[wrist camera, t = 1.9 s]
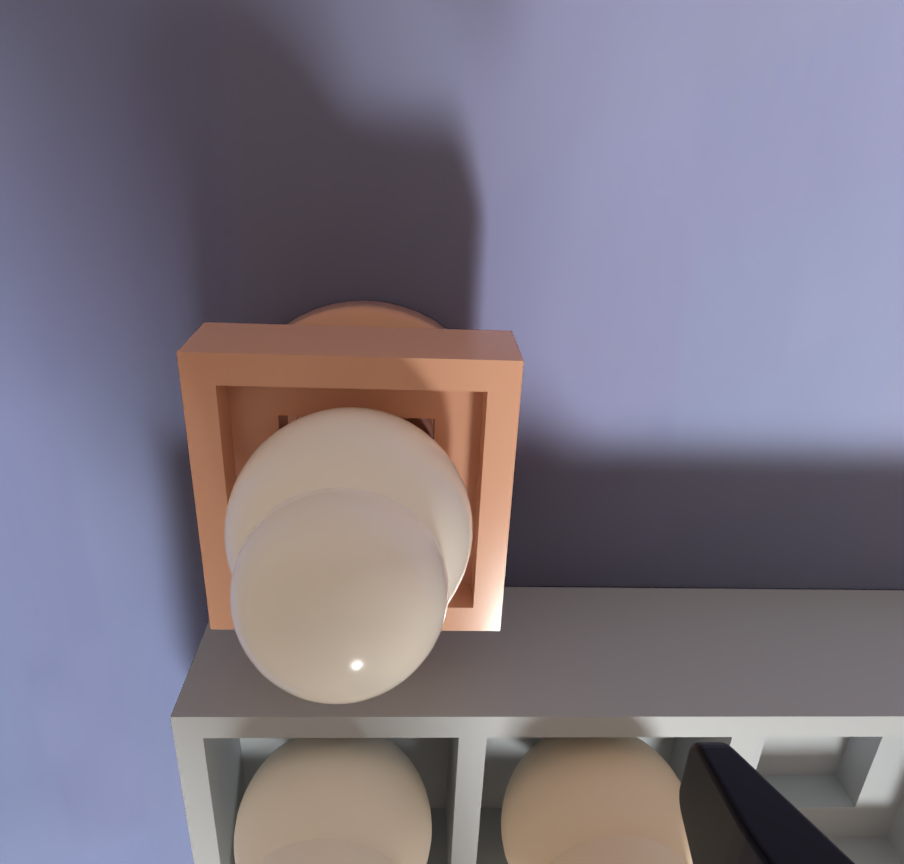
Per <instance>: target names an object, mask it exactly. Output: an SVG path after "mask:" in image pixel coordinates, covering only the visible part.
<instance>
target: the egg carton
mask: <svg viewBox="0 0 904 864" xmlns="http://www.w3.org/2000/svg"><path fill="white" fill-rule="evenodd" d="M170 718H171V724H172V730H173V736H174V742H175V749H176V755H177V761H178V767H179V773H180V779H181V786H182V792H183V798H184V804H185V810H186V816H187V823H188V829H189V835H190V841H191V847H192V854H193V860H194V864H693V862H692V858H691V854H690V849H689V845H688V841H687V836H686V832H685V828H684V823H683V819H682V815H681V810H680V803H679V790H680V785H681V781H682V776H683V772H684V768H685V764H686V760H687V756H688V752H689V749H690V747H691V746H692V745H693V744H694V743H697V742H722V743H726V744H728V745H729V746H731V747H732V748H733V749H734V750H735V751H736V752H737V753H739V754H740V755H741V756H742V757H743V758H744V759H745V760H746V761H747V762H748V763H749V764H750V765H751V766H752V767H753V768H754V769H755V770H757V771H758V772H759V773H760V774H761V775H762V776H763V777H764V778H765V779H766V780H767V781H768V782H769V783H770V784H771V785H772V786H774V787H775V788H776V789H777V790H778V791H779V792H780V793H781V794H782V795H783V796H784V797H785V798H786V799H787V800H788V801H789V802H791V803H792V804H793V805H794V806H795V807H796V808H797V809H798V810H799V811H800V812H801V813H802V814H803V815H804V816H805V817H806V818H807V819H809V820H810V821H811V822H812V823H813V824H814V825H815V826H816V827H817V828H818V829H819V830H820V831H821V832H822V833H823V834H824V835H826V836H827V837H828V838H829V839H830V840H831V841H832V842H833V843H834V844H835V845H836V846H837V847H838V848H839V849H840V850H841V851H843V852H844V853H845V854H846V855H847V856H848V857H849V858H850V859H851V860H852V861H853V862H854V863H855V864H904V590H808V589H696V588H584V587H504V592H503V604H502V615H501V627H500V631H441V632H440V634H439V636H438V638H437V641H436V643H435V645H434V647H433V648H432V650H431V651H430V653H429V654H428V656H427V657H426V659H425V660H424V661H423V662H422V664H421V665H420V666H419V667H418V668H417V669H416V670H415V671H414V672H413V673H412V674H411V675H410V676H409V677H408V678H406V679H405V680H404V681H403V682H401V683H400V684H398V685H397V686H395V687H394V688H392V689H391V690H389V691H387V692H385V693H383V694H381V695H378V696H375V697H373V698H370V699H367V700H363V701H359V702H354V703H348V704H324V703H317V702H312V701H308V700H304V699H302V698H299V697H296V696H294V695H292V694H290V693H288V692H286V691H284V690H282V689H281V688H279V687H278V686H276V685H274V684H273V683H272V682H270V681H269V680H268V679H267V678H265V677H264V676H263V675H262V674H261V673H260V672H259V671H258V670H257V668H256V667H255V666H254V665H253V663H252V662H251V661H250V659H249V658H248V656H247V655H246V653H245V652H244V650H243V648H242V646H241V644H240V642H239V639H238V637H237V634H236V631H235V630H222V629H210V621H209V622H208V624H207V627H206V629H205V632H204V634H203V637H202V639H201V642H200V644H199V647H198V649H197V652H196V654H195V657H194V659H193V662H192V664H191V667H190V669H189V672H188V674H187V677H186V679H185V682H184V684H183V687H182V689H181V692H180V694H179V697H178V699H177V702H176V704H175V707H174V709H173V712H172V714H171V717H170Z"/></svg>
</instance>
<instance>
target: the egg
mask: <svg viewBox="0 0 904 864" xmlns="http://www.w3.org/2000/svg"><path fill="white" fill-rule="evenodd" d="M224 544H225V550H226V556H227V561H228V566H229V570H230V572H231V575H232V578H231V585H230V608H231V614H232V620H233V625H234V629H235V631H236V634H237V637H238V639H239V642H240V644H241V646H242V648H243V650H244V652H245V653H246V655H247V656H248V658H249V659H250V661H251V662H252V663H253V665H254V666H255V667H256V668H257V670H258V671H259V672H260V673H261V674H262V675H263V676H264V677H265V678H267V679H268V680H269V681H270V682H272V683H273V684H274V685H276V686H278V687H279V688H281V689H282V690H284V691H286V692H288V693H290V694H292V695H294V696H296V697H299V698H302V699H304V700H308V701H312V702H317V703H324V704H348V703H354V702H359V701H363V700H367V699H370V698H373V697H375V696H378V695H381V694H383V693H385V692H387V691H389V690H391V689H392V688H394V687H395V686H397V685H398V684H400V683H401V682H403V681H404V680H405V679H406V678H408V677H409V676H410V675H411V674H412V673H413V672H414V671H415V670H416V669H417V668H418V667H419V666H420V665H421V664H422V662H423V661H424V660H425V659H426V657H427V656H428V654H429V653H430V651H431V650H432V648H433V647H434V645H435V643H436V641H437V638H438V636H439V634H440V632H441V630H442V627H443V623H444V620H445V616H446V612H447V606H448V603H449V602H450V600H451V599H452V597H453V596H454V594H455V592H456V590H457V588H458V586H459V584H460V582H461V580H462V578H463V576H464V574H465V571H466V567H467V564H468V561H469V556H470V552H471V545H472V512H471V507H470V501H469V498H468V494H467V491H466V488H465V485H464V482H463V480H462V478H461V476H460V474H459V472H458V470H457V468H456V467H455V465H454V463H453V462H452V460H451V459H450V457H449V456H448V455H447V453H446V452H445V451H444V450H443V449H442V447H441V446H440V445H439V444H438V443H437V442H436V441H435V440H434V439H432V438H431V437H430V436H429V435H428V434H426V433H425V432H424V431H423V430H421V429H420V428H418V427H417V426H415V425H414V424H412V423H410V422H409V421H406V420H404V419H402V418H400V417H398V416H396V415H393V414H390V413H387V412H384V411H379V410H374V409H370V408H359V407H340V408H333V409H327V410H322V411H319V412H315V413H312V414H309V415H306V416H304V417H301V418H299V419H297V420H295V421H292V422H290V423H289V424H287V425H286V426H284V427H282V428H281V429H279V430H278V431H276V432H275V433H274V434H273V435H272V436H270V437H269V438H268V439H267V440H266V441H264V442H263V443H262V444H261V445H260V446H259V447H258V449H257V450H256V451H255V452H254V453H253V454H252V455H251V457H250V458H249V460H248V461H247V463H246V464H245V466H244V467H243V469H242V470H241V472H240V473H239V475H238V478H237V480H236V482H235V484H234V486H233V489H232V492H231V495H230V498H229V502H228V505H227V509H226V517H225V526H224Z"/></svg>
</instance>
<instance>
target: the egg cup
mask: <svg viewBox="0 0 904 864" xmlns="http://www.w3.org/2000/svg"><path fill="white" fill-rule="evenodd" d="M177 360H178V368H179V376H180V384H181V392H182V400H183V409H184V417H185V425H186V433H187V441H188V449H189V457H190V466H191V474H192V482H193V490H194V498H195V506H196V515H197V523H198V531H199V539H200V547H201V555H202V564H203V572H204V580H205V588H206V596H207V604H208V613H209V621H210V629H222V630H235V629H234V625H233V620H232V614H231V608H230V585H231V578H232V575H231V572H230V570H229V566H228V561H227V556H226V550H225V544H224V526H225V517H226V509H227V505H228V502H229V498H230V495H231V492H232V489H233V486H234V484H235V482H236V480H237V478H238V475H239V473H240V472H241V470H242V469H243V467H244V466H245V464H246V463H247V461H248V460H249V458H250V457H251V455H252V454H253V453H254V452H255V451H256V450H257V449H258V447H259V446H260V445H261V444H262V443H263V442H264V441H266V440H267V439H268V438H269V437H270V436H272V435H273V434H274V433H275V432H276V431H278V430H279V429H281V428H282V427H284V426H286V425H287V424H289V423H290V422H292V421H295V420H297V419H299V418H301V417H304V416H306V415H309V414H312V413H315V412H319V411H322V410H327V409H333V408H340V407H359V408H370V409H374V410H379V411H384V412H387V413H390V414H393V415H396V416H398V417H400V418H402V419H404V420H406V421H409V422H410V423H412V424H414V425H415V426H417V427H418V428H420V429H421V430H423V431H424V432H425V433H426V434H428V435H429V436H430V437H431V438H432V439H434V440H435V441H436V442H437V443H438V444H439V445H440V446H441V447H442V449H443V450H444V451H445V452H446V453H447V455H448V456H449V457H450V459H451V460H452V462H453V463H454V465H455V467H456V468H457V470H458V472H459V474H460V476H461V478H462V480H463V482H464V485H465V488H466V491H467V494H468V498H469V501H470V507H471V512H472V545H471V552H470V556H469V561H468V564H467V567H466V571H465V574H464V576H463V578H462V580H461V582H460V584H459V586H458V588H457V590H456V592H455V594H454V596H453V597H452V599H451V600H450V602H449V603H448V606H447V612H446V616H445V620H444V623H443V627H442V630H441V631H500V627H501V615H502V604H503V592H504V581H505V570H506V558H507V547H508V535H509V524H510V512H511V501H512V489H513V478H514V466H515V455H516V443H517V432H518V421H519V409H520V398H521V386H522V375H523V363H524V360H523V358H522V355H521V353H520V350H519V348H518V345H517V343H516V340H515V338H514V335H513V332H512V331H498V330H462V329H446V328H445V327H443V326H442V325H440V324H439V323H437V322H436V321H434V320H433V319H431V318H429V317H427V316H425V315H423V314H421V313H419V312H417V311H414V310H411V309H409V308H406V307H403V306H399V305H395V304H390V303H386V302H378V301H367V300H366V301H346V302H340V303H334V304H330V305H326V306H323V307H320V308H316V309H314V310H311V311H309V312H307V313H305V314H303V315H301V316H299V317H297V318H295V319H294V320H292V321H291V322H289V323H287V324H286V325H285V324H250V323H215V322H204V323H203V324H202V325H201V327H200V328H199V329H198V330H197V331H196V332H195V333H194V334H193V335H192V336H191V337H190V338H189V339H188V340H187V341H186V342H185V344H184V345H183V346H182V347H181V348H180V349H179V350H178V351H177Z"/></svg>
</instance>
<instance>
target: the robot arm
mask: <svg viewBox="0 0 904 864" xmlns="http://www.w3.org/2000/svg"><path fill="white" fill-rule="evenodd" d="M679 803H680V810H681V815H682V819H683V823H684V828H685V832H686V836H687V841H688V845H689V849H690V854H691V858H692V862H693V864H855V863H854V862H853V861H852V860H851V859H850V858H849V857H848V856H847V855H846V854H845V853H844V852H843V851H841V850H840V849H839V848H838V847H837V846H836V845H835V844H834V843H833V842H832V841H831V840H830V839H829V838H828V837H827V836H826V835H824V834H823V833H822V832H821V831H820V830H819V829H818V828H817V827H816V826H815V825H814V824H813V823H812V822H811V821H810V820H809V819H807V818H806V817H805V816H804V815H803V814H802V813H801V812H800V811H799V810H798V809H797V808H796V807H795V806H794V805H793V804H792V803H791V802H789V801H788V800H787V799H786V798H785V797H784V796H783V795H782V794H781V793H780V792H779V791H778V790H777V789H776V788H775V787H774V786H772V785H771V784H770V783H769V782H768V781H767V780H766V779H765V778H764V777H763V776H762V775H761V774H760V773H759V772H758V771H757V770H755V769H754V768H753V767H752V766H751V765H750V764H749V763H748V762H747V761H746V760H745V759H744V758H743V757H742V756H741V755H740V754H739V753H737V752H736V751H735V750H734V749H733V748H732V747H731V746H729V745H728V744H726V743H722V742H697V743H694V744H693V745H692V746H691V747H690V749H689V752H688V756H687V760H686V764H685V768H684V772H683V776H682V781H681V785H680V790H679Z"/></svg>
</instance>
